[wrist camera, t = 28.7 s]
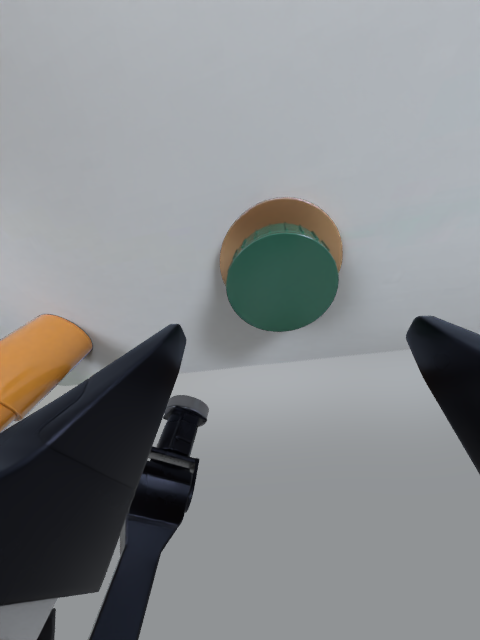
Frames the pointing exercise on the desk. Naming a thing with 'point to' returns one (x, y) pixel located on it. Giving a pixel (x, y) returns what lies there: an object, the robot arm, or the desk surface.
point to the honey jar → (37, 363)
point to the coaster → (276, 214)
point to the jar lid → (281, 278)
